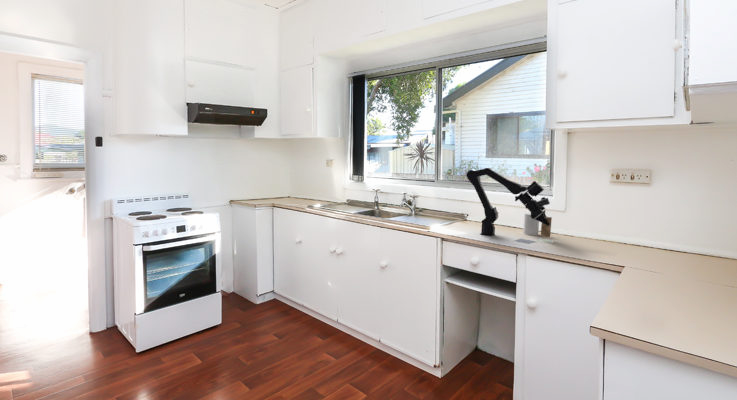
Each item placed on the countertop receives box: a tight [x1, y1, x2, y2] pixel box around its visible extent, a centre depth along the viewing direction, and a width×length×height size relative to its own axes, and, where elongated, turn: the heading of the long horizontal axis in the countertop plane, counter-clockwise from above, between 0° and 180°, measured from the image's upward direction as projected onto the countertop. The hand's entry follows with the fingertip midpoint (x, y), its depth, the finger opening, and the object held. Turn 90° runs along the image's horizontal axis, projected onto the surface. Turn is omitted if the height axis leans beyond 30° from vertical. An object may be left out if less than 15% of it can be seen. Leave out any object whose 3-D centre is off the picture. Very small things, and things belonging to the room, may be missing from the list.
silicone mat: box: [513, 238, 538, 245], centre depth 217 cm, size 9×9×1 cm
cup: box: [522, 212, 540, 236], centre depth 237 cm, size 8×8×12 cm
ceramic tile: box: [536, 238, 555, 244], centre depth 219 cm, size 8×8×1 cm
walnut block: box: [540, 216, 553, 238], centre depth 218 cm, size 4×4×10 cm
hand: (549, 224), depth 217 cm, fingers closed on walnut block, 4 cm apart
